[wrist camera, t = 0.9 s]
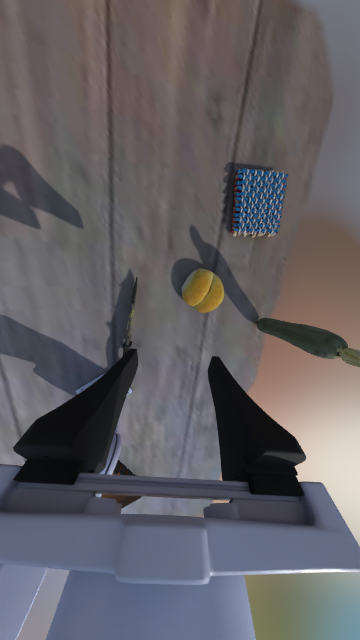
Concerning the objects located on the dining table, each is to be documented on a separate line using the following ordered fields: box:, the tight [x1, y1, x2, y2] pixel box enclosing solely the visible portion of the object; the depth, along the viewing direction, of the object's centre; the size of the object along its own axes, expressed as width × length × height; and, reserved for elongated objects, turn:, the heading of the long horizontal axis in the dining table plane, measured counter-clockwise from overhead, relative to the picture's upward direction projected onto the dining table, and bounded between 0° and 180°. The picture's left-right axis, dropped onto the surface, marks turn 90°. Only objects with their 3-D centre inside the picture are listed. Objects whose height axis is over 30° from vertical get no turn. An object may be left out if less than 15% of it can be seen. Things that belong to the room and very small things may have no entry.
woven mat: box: [231, 168, 288, 238], centre depth 25 cm, size 10×11×2 cm
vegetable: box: [257, 318, 360, 367], centre depth 24 cm, size 4×4×20 cm
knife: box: [123, 277, 137, 356], centre depth 27 cm, size 23×2×5 cm, turn 167°
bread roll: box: [182, 269, 224, 313], centre depth 27 cm, size 8×9×4 cm
